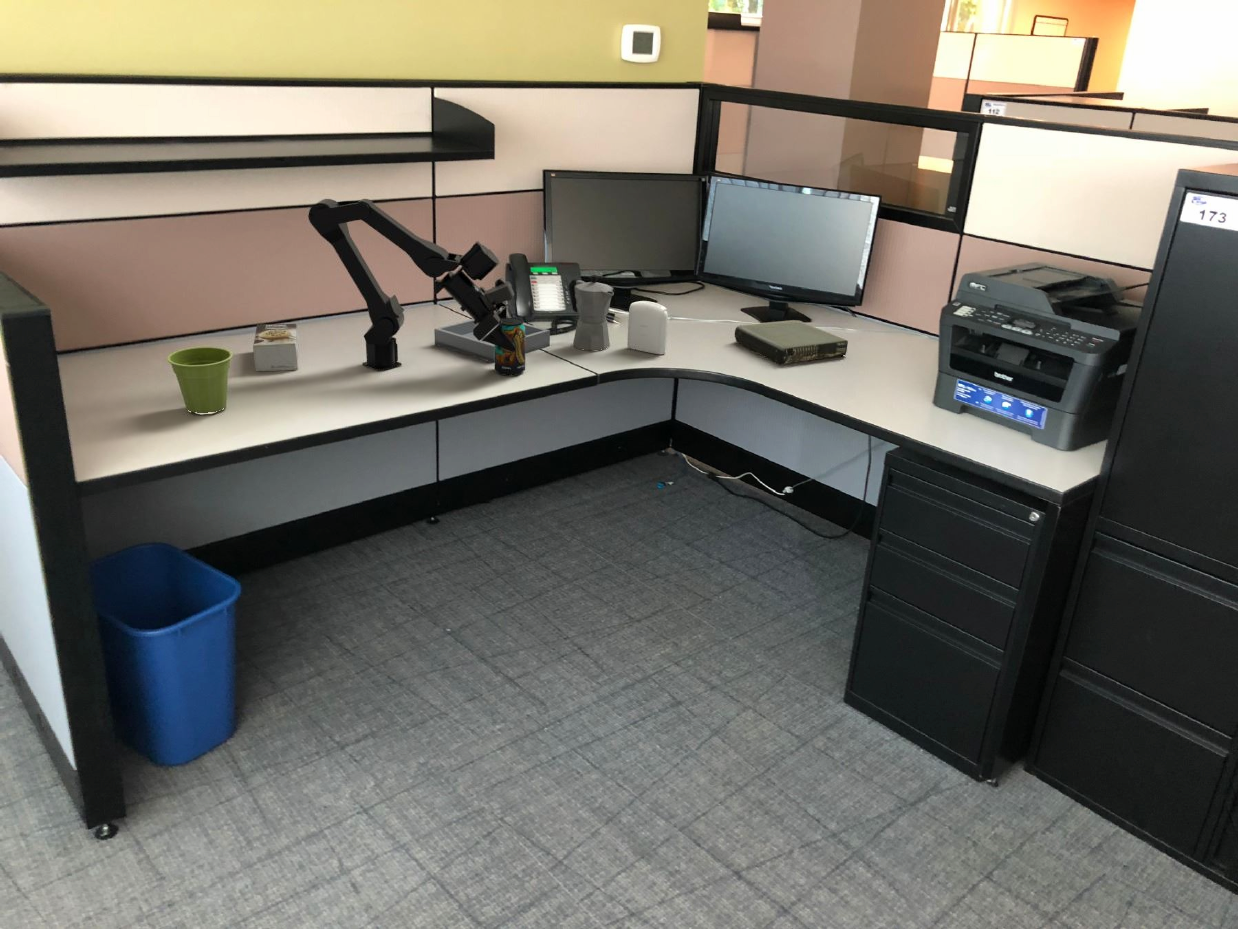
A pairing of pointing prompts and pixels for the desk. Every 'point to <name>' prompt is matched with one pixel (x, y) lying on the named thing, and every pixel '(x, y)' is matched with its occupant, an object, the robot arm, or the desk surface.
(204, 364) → the plant pot
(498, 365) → the beverage can
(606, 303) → the coffeepot
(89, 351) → the desk surface
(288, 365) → the coffee box
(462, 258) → the robot arm
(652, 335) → the photo printer
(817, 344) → the network switch
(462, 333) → the bin
